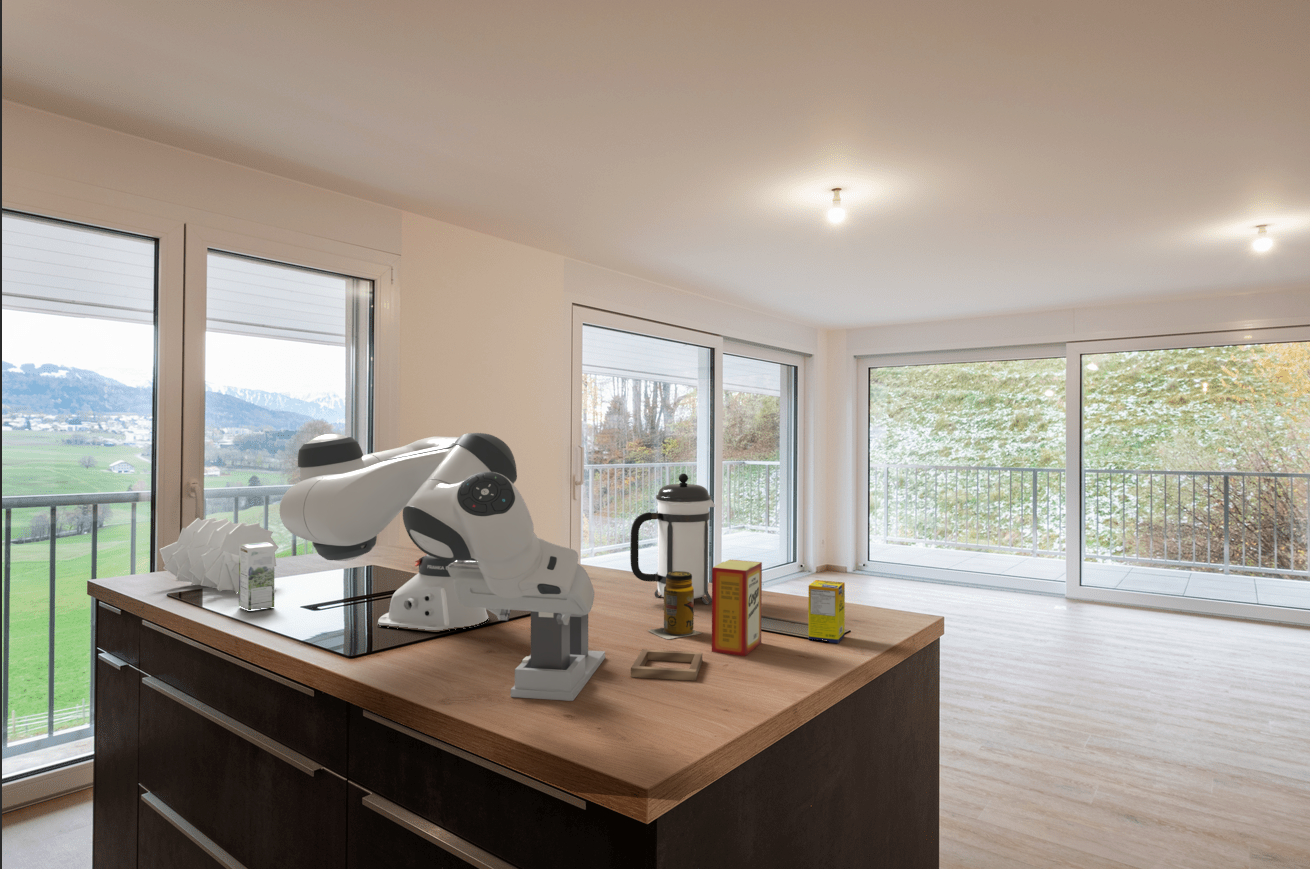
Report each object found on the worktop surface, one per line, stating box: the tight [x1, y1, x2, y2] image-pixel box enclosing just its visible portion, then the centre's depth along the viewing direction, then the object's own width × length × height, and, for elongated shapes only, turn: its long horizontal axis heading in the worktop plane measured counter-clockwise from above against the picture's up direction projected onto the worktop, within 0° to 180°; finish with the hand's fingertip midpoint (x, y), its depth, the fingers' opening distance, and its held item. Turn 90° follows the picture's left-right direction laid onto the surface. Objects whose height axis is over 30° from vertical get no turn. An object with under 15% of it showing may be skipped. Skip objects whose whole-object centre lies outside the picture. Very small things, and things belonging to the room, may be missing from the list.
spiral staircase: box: [158, 516, 280, 593], centre depth 201 cm, size 18×18×25 cm
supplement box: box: [807, 579, 846, 644], centre depth 158 cm, size 6×6×11 cm
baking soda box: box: [711, 559, 763, 657], centre depth 152 cm, size 10×6×16 cm
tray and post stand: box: [510, 613, 606, 702], centre depth 135 cm, size 22×10×9 cm, turn 171°
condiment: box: [647, 571, 702, 640], centre depth 162 cm, size 7×8×12 cm
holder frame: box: [630, 648, 703, 682], centre depth 139 cm, size 11×11×2 cm
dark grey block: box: [530, 611, 570, 670], centre depth 129 cm, size 5×5×12 cm
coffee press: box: [629, 473, 716, 605], centre depth 189 cm, size 17×16×30 cm
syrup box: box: [238, 542, 276, 610], centre depth 181 cm, size 6×6×14 cm
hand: (534, 618), depth 122 cm, fingers open, 8 cm apart
